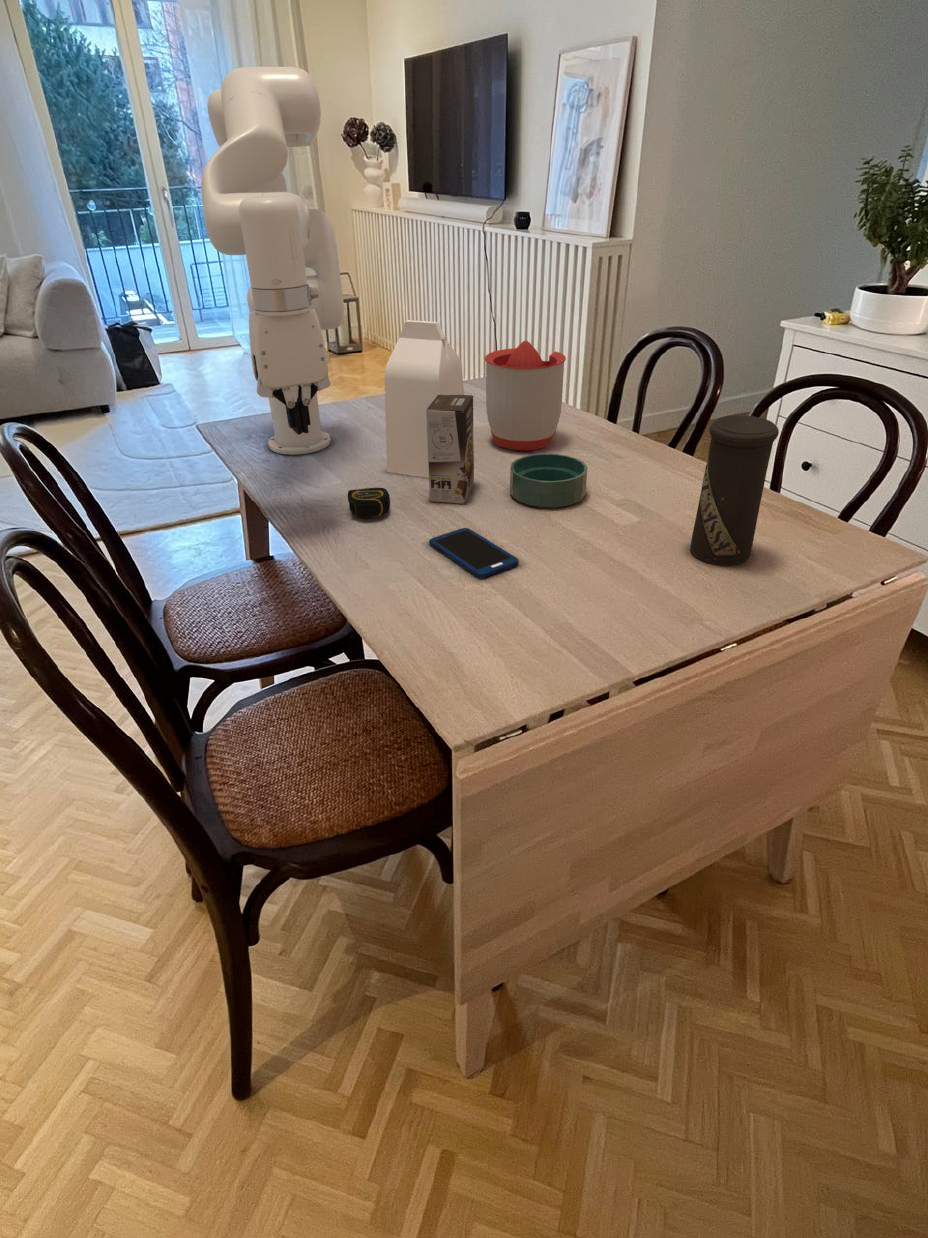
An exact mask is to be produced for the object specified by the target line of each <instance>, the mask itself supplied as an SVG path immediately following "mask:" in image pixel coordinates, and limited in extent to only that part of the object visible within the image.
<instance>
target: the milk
mask: <svg viewBox="0 0 928 1238" xmlns="http://www.w3.org/2000/svg"><path fill="white" fill-rule="evenodd" d="M437 395H465V389H464V373H463V364H462V360H461V358H460V356H459V354H458V353H457V352H456V351H455V349H454V348H453V346H451V344H450V343H449V341H447V339H446V337H445V334H444V332H443V330H442V327H441V324H440V322H439V321H431V320H430V321H429V320H414V319H407V320H405V321H404V322H403V326H402V329H401V332H400V335H399V338H398V340H397V342H396V344H395V346H394V348H393V350H392V353H391V354H390V357H389V359H388V361H387V363H386V366H385V368H384V404H385V405H384V408H385V409H384V410H385V412H384V413H385V447H386V449H385V450H386V451H385V452H386V472H387V473H391V474H397V475H405V476H413V477H419V478H427V479H429V463H428V439H427V411H426V409H427V408H428V407H429V405H430V404H431V403H432V402H433V401H434V399H435V398H436V397H437Z"/></svg>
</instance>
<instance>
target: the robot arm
mask: <svg viewBox="0 0 928 1238" xmlns="http://www.w3.org/2000/svg"><path fill="white" fill-rule="evenodd" d="M320 101H321V100H320V97H319V92H318V89H317V86H316V84H315V81H314V80H313V78H312V77H311V75H310V73H308V72H307V71H306V70H305V69H303V68H301V67H297V66H242V67H238V68H237V67H236V68H235V69H232V70H231V71H230V72H228V73H227V74H226V75H225V77H224V78H223V80H222V83H221V87H220V88H218V89H215V90H213V91H212V92H211V93H210V94H209V95H208V98H207V103H206V105H207V114H208V119H209V122H210V126H211V130H212V132H213V135H214V138H215V140H216V143H217V145H218V149H216V151H215V152H214V153H213V154H212V156H211V157H210V158H209V160H208V161H207V162H206V165H205V166H204V169H203V172H202V174H201V175H202V176H201V183H200V184H201V185H200V186H201V187H200V188H201V189H200V190H201V199H202V200H201V201H202V209H203V211H202V212H203V217H204V218H203V219H204V225H205V230H206V234H207V237H208V239H209V241H210V243H211V245H212V246H213V248H214V249H215V251H217V252H218V253H221V254H223V255H225V256H245V258H246V264H247V270H248V271H247V272H248V277H249V282H250V285H249V287H248V290H247V295H246V300H247V306H248V310H249V312H248V334H249V348H250V356H251V367H252V373H253V376H254V379H255V381H256V382H257V384H256V394H257V395H258V396H259V397H261V398H268V404H269V409H270V410H269V411H270V415H271V416H270V417H271V421H272V427H273V428H272V429H273V433H274V435H273V436H271V437H270V438H269V440H268V442H267V445H268V448H269V450H270V451H272V452H274V453H277V454H280V455H290V456H291V455H292V456H293V455H295V456H296V455H305V454H307V455H308V454H312V453H316V452H319V451H321V450H324V449H326V448H327V447H328V446H329V445H330V444H331V442H332V441H331V436H330V434H329V433H328V432H325V431H323V430H322V423H321V416H320V407H319V399H318V392H320V391H322V390H325V389H327V388H329V387H330V386H331V381H330V378H329V363H328V355H327V351H326V345H325V340H324V337H323V332H322V331H326V330H327V331H328V330H334V329H335V330H336V329H338V328H339V327H340V326H341V325H342V324H343V322H344V320H345V303H344V294H343V286H342V277H341V269H340V262H339V256H338V255H339V253H338V248H337V247H338V245H337V241H336V234H335V230H334V226H333V222H332V221H331V218H330V217H329V215H328V214H327V213H326V212H324V211H323V210H321V209H317V208H309V206H307V205H306V204H305V202H304V200H303V199H302V197H300V196H299V195H298V194H296V193H293V192H290V191H289V192H288V189H287V181H286V178H285V176H284V174H283V171H284V170H285V168H286V166H287V163H288V160H289V149H288V148H302V147H304V148H305V147H310V146H312V145H313V144H314V143H315V141H316V139H317V135H318V132H319V129H320V125H321V117H322V116H321V113H322V111H321V102H320ZM307 268H308V269H311V270H313V272H314V273H315V274H314V275H313V274H312V275H307V271H306V270H307Z"/></svg>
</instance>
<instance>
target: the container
mask: <svg viewBox="0 0 928 1238" xmlns="http://www.w3.org/2000/svg"><path fill="white" fill-rule="evenodd" d="M708 430H709V434H710V438H711V439H710V442H709V449H708V452H707V458H706V465H705V469H704V473H703V479H702V483H701V489H700V495H699V500H698V505H697V510H696V515H695V520H694V525H693V529H692V535H691V541H690V547H689V550H690V553H691V554H692V556H694V557H695V558H697V559H698V560H700V561H703V562H705V563H709V564H713V565H718V566H737V565H742V564H744V563H746V562H747V561H749V559H750V557H751V553H752V549H753V545H754V539H755V534H756V528H757V524H758V518H759V512H760V509H761V508H760V506H761V502H762V499H763V497H762V496H763V493H764V492H763V491H764V487H765V483H766V477H767V472H768V468H769V462H770V459H771V454H772V448H773V444H774V442H775V440H776V439H777V438H778V436H779V434H780V433H779V432H780V430H779V428H778V426H777V425H776V424H775V423H774V422H773V421H771V420H769V419H767V418H764V417H763V418H762V417H760V416H759V417H758V416H754V415H742V414H740V415H739V414H737V415H736V414H735V415H733V414H732V415H726V416H722V417H719V418H717V419H716V420H714V421H713V422H712V423H711V424H710V426H709V429H708Z"/></svg>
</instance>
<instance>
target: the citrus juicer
mask: <svg viewBox="0 0 928 1238" xmlns="http://www.w3.org/2000/svg"><path fill="white" fill-rule="evenodd" d="M484 361H485V405H486V415H487V421H488V426H489V428H490V434H491V436H492V439H493V441H494V443H495V444H496V445H497V446H499V447H501V448H503V449H508V450H513V451H524V452H533V451H534V450H539V449H542V448H546V447H547V446H549V445H550V444H551V443H552V440H553V439H554V437H555V434H556V432H557V431H556V430H557V428H558V424H559V422H560V417H561V414H562V407H563V406H562V405H563V393H564V392H563V391H564V372H565V362H566V361H567V358H566V355H564V353H562V352H558V351H556V350H555V351H553V352H552V353H551V354H549V355H548V360H543V359H542V357H541V355H540V354H539V352H538V351H537V349H536V348H535V347H534V345H532V343H531V342H530V341H528V340H523V341H522V342H520V343H519V344H518V346H517V347H513V348H504V349H499V350H494V351H492V352H489V353H488V354H486V355H485V357H484Z"/></svg>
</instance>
